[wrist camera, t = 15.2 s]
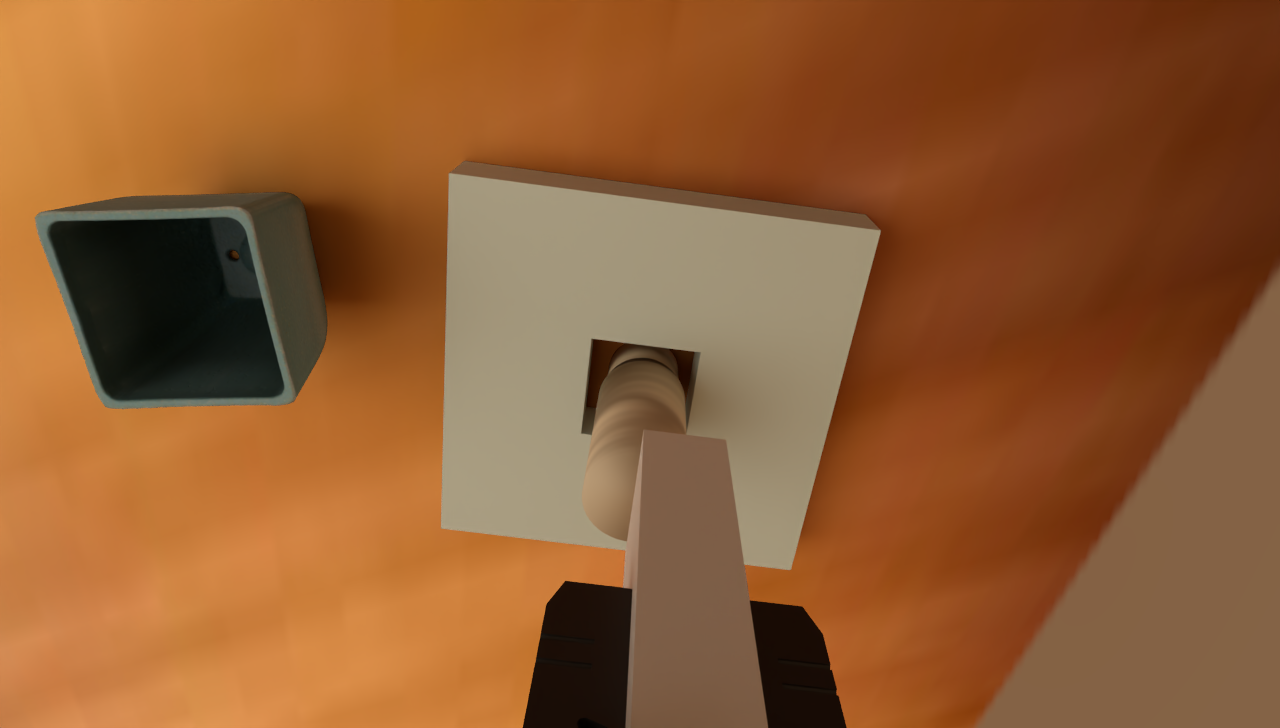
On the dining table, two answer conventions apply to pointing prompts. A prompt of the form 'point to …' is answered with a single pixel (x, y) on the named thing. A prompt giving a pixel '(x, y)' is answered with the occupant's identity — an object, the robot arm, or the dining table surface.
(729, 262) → the board
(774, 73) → the dining table surface
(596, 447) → the peg
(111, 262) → the flower pot
